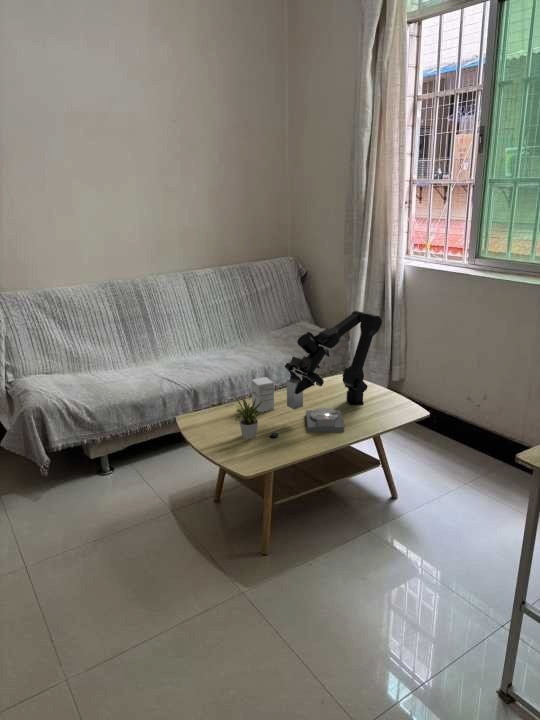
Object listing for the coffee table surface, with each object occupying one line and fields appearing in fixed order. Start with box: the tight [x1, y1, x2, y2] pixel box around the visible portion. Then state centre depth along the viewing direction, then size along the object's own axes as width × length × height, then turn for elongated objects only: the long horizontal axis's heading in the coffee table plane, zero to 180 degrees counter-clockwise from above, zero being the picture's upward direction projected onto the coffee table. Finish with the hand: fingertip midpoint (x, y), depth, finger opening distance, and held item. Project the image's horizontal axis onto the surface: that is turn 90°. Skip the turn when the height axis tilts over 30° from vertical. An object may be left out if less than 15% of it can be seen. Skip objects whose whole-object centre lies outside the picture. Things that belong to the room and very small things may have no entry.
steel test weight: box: [286, 378, 304, 411], centre depth 221 cm, size 4×4×11 cm
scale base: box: [305, 409, 345, 433], centre depth 223 cm, size 14×16×5 cm
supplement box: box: [251, 376, 275, 413], centre depth 236 cm, size 7×7×13 cm
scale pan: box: [311, 407, 338, 421], centre depth 225 cm, size 11×11×1 cm
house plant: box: [230, 396, 266, 440], centre depth 211 cm, size 14×14×16 cm
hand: (292, 391), depth 220 cm, fingers closed on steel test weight, 4 cm apart
